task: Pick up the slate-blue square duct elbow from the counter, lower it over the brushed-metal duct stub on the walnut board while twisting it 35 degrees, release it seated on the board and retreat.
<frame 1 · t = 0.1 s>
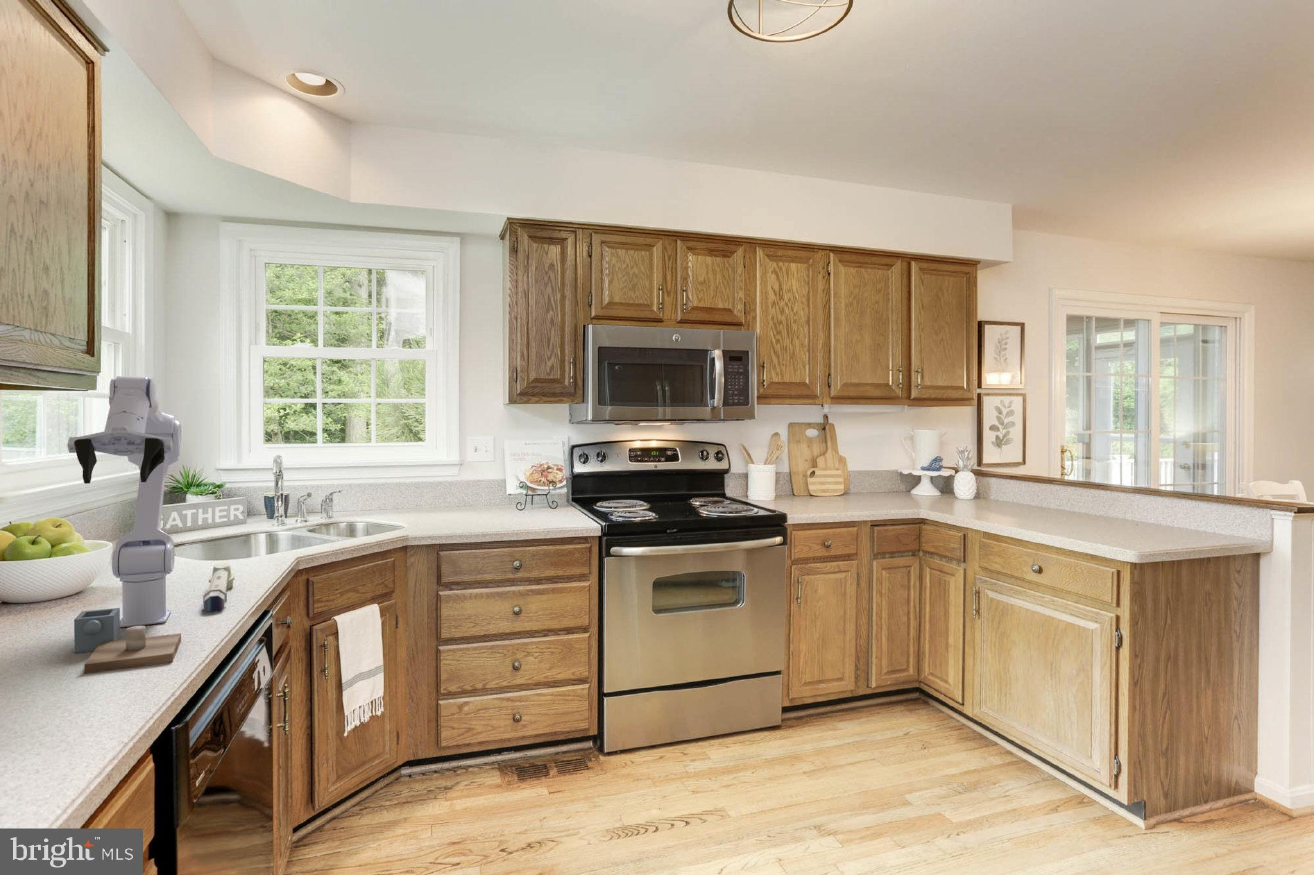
hand: (115, 478, 116), 32 cm above the countertop, tool tilted 50°, fingers open, 7 cm apart
duct sleeve: (97, 645, 127), on the countertop
beige flashlight: (218, 599, 160), on the countertop
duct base: (135, 656, 122), on the countertop
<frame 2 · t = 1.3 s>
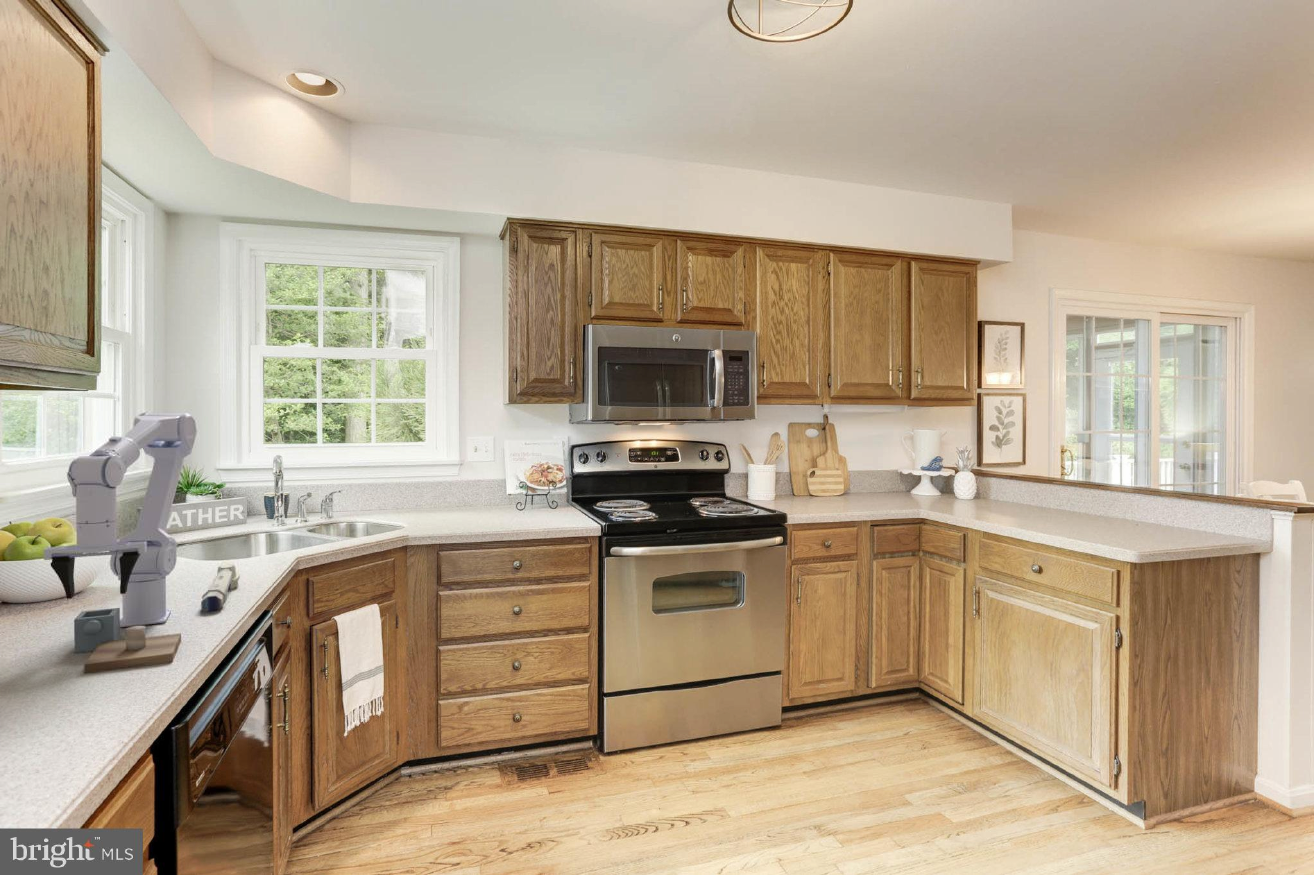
hand: (97, 595, 126), 9 cm above the countertop, tool pointing down, fingers open, 7 cm apart
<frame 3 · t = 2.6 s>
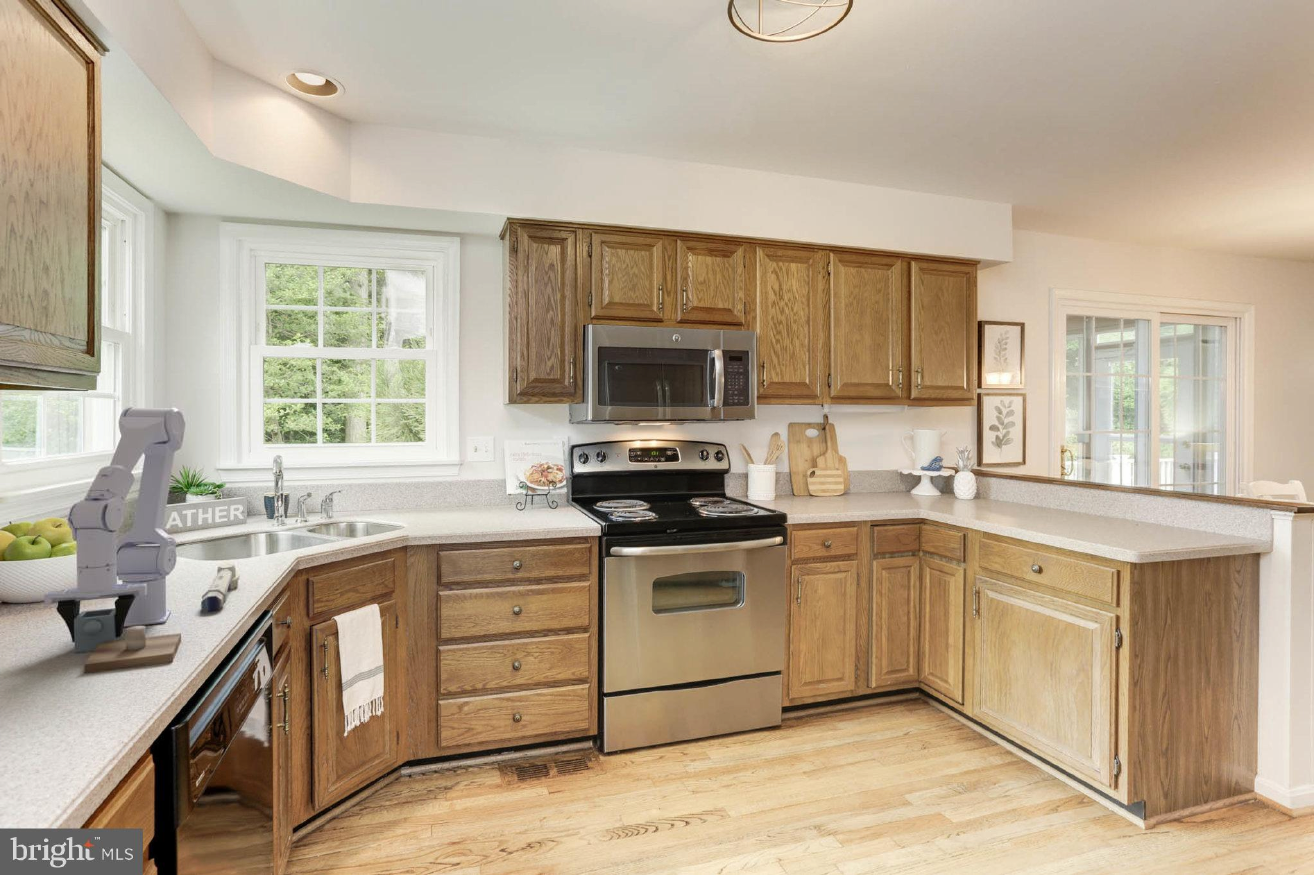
hand: (97, 638, 127), 1 cm above the countertop, tool pointing down, fingers closed on duct sleeve, 6 cm apart
duct sleeve: (97, 645, 127), on the countertop, touching gripper
everything else where it was.
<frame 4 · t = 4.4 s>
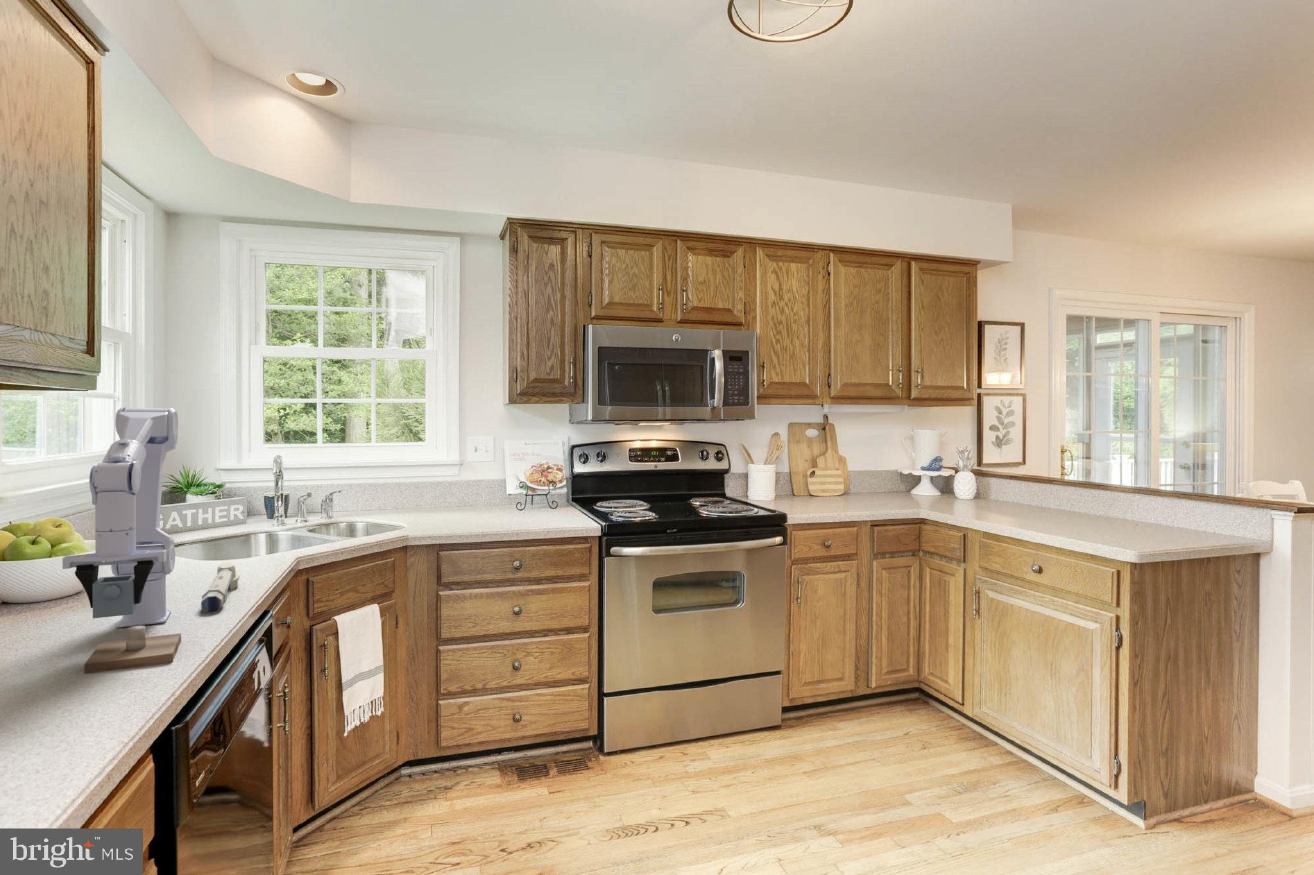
hand: (116, 604, 124), 9 cm above the countertop, tool pointing down, fingers closed on duct sleeve, 6 cm apart
duct sleeve: (116, 612, 124), point 7 cm above the countertop, touching gripper
everything else where it was.
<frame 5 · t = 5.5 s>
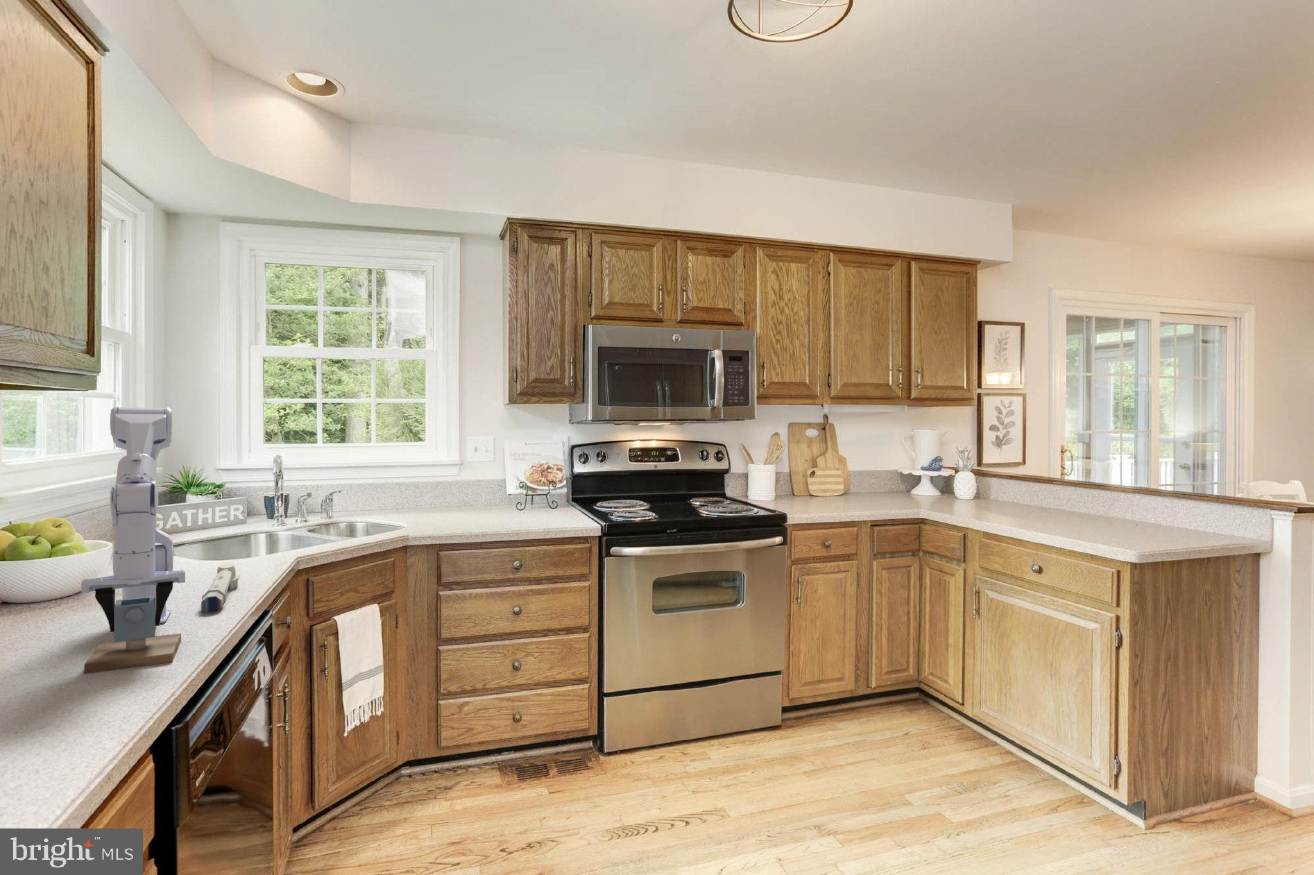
hand: (135, 627, 122), 5 cm above the countertop, tool pointing down, fingers closed on duct sleeve, 6 cm apart
duct sleeve: (135, 635, 122), point 4 cm above the countertop, touching gripper
everything else where it was.
when the fingers open (4 cm above the countertop, at t = 6.4 s): duct sleeve drops 1 cm, resting on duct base.
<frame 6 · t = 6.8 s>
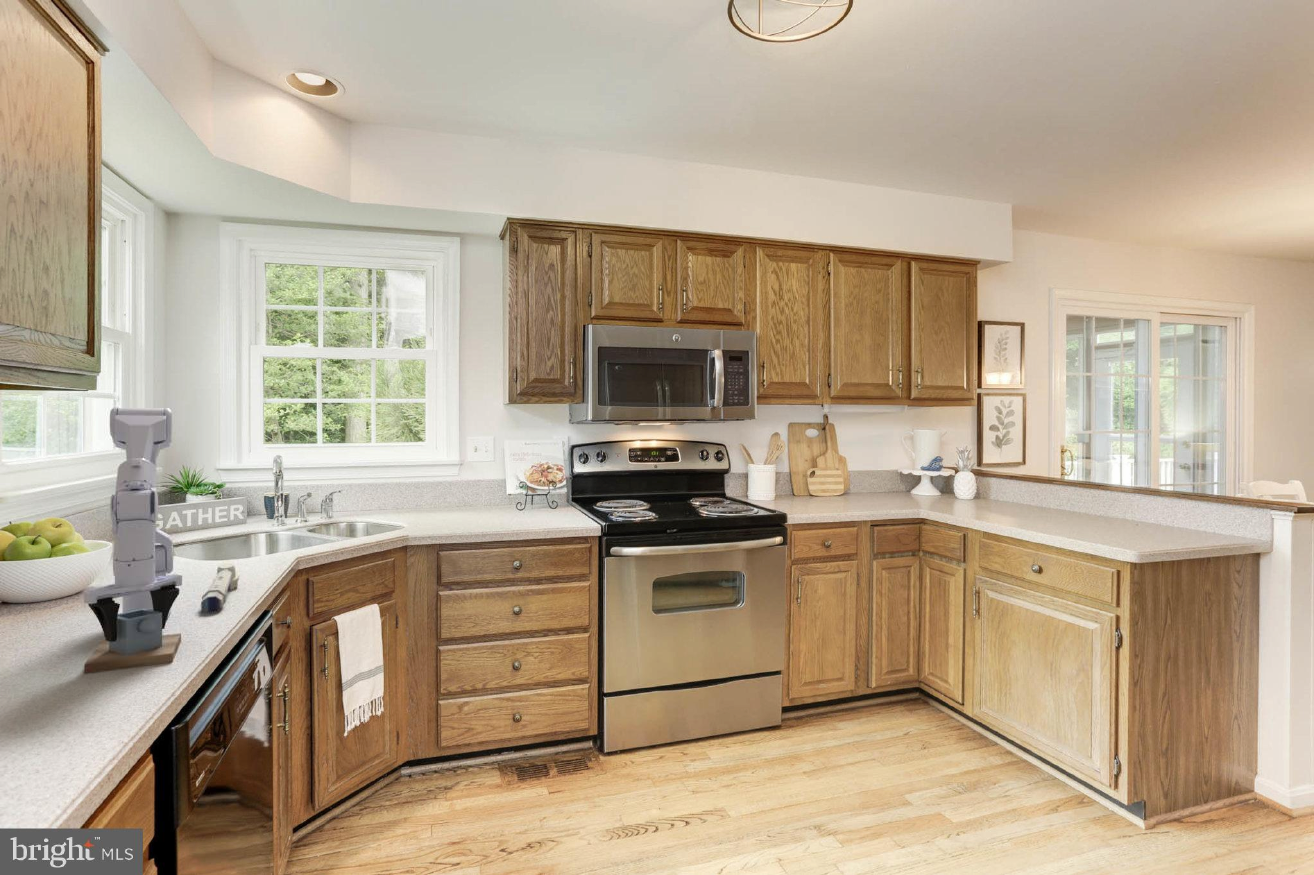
hand: (135, 634, 122), 4 cm above the countertop, tool pointing down, fingers open, 7 cm apart
duct sleeve: (135, 647, 122), point 1 cm above the countertop, touching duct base
everything else where it was.
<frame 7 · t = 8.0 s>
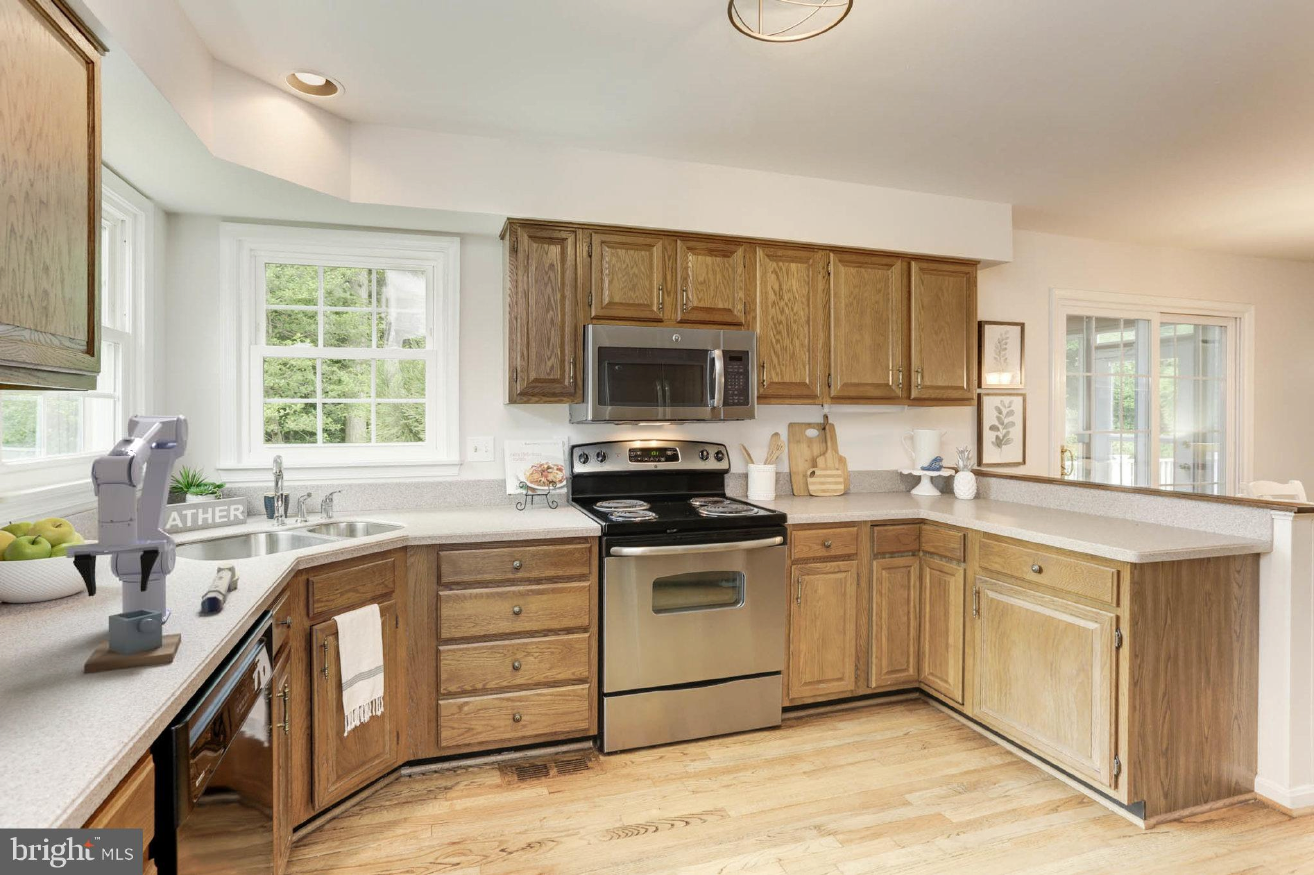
hand: (118, 592, 128), 9 cm above the countertop, tool pointing down, fingers open, 7 cm apart
nothing on the countertop moved.
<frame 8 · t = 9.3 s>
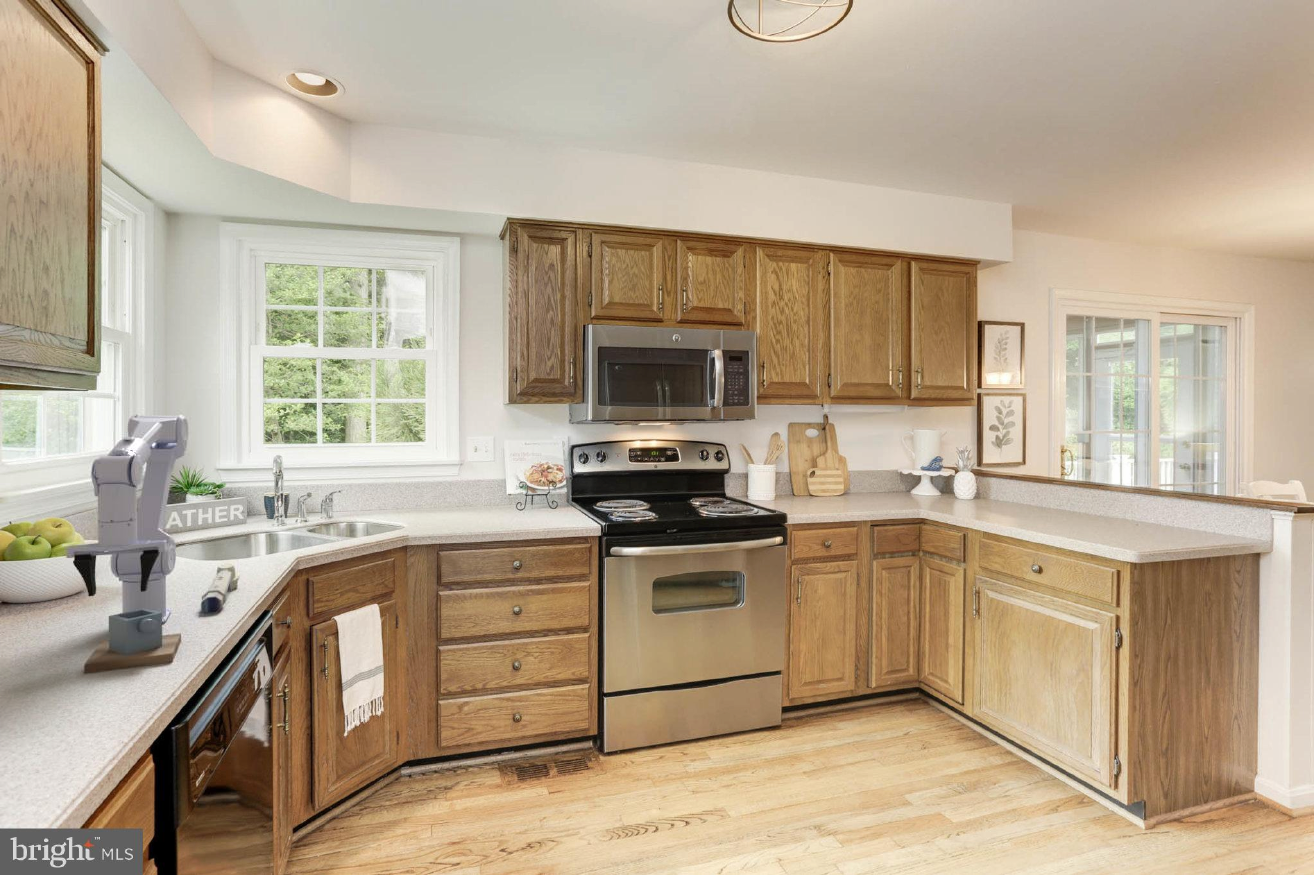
hand: (118, 592, 128), 9 cm above the countertop, tool pointing down, fingers open, 7 cm apart
nothing on the countertop moved.
at the end: duct sleeve 0.0 cm off-centre on the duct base, point 1.5 cm above the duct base's base; duct sleeve tilted 0°; the gripper is holding nothing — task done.
